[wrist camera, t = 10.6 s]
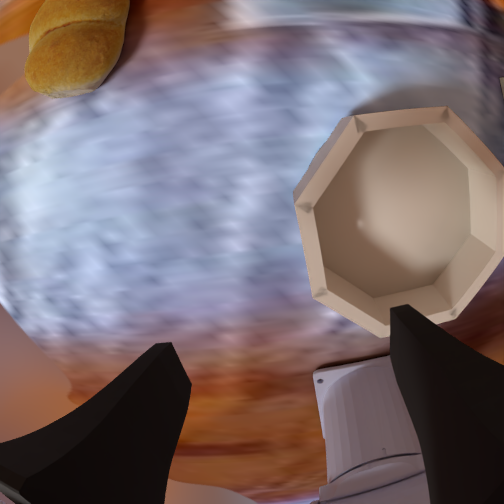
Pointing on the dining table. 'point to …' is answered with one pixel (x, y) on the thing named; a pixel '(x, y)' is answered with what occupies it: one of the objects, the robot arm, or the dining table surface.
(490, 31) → the dining table surface
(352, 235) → the bowl
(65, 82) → the bread roll
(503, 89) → the mat
